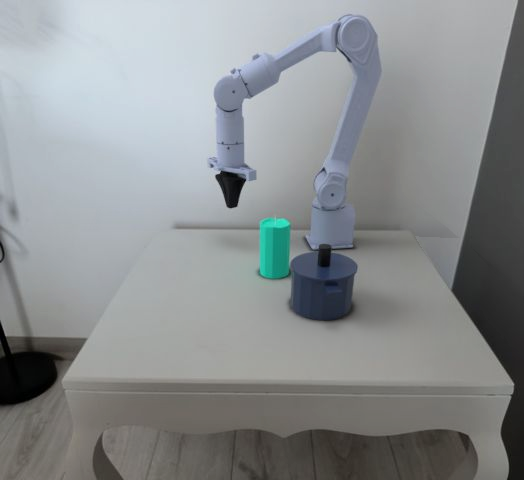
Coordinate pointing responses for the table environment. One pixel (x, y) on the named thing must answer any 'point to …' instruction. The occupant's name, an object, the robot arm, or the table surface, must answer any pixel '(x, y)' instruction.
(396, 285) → the table surface
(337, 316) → the pot
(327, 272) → the pot lid
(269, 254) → the candle
